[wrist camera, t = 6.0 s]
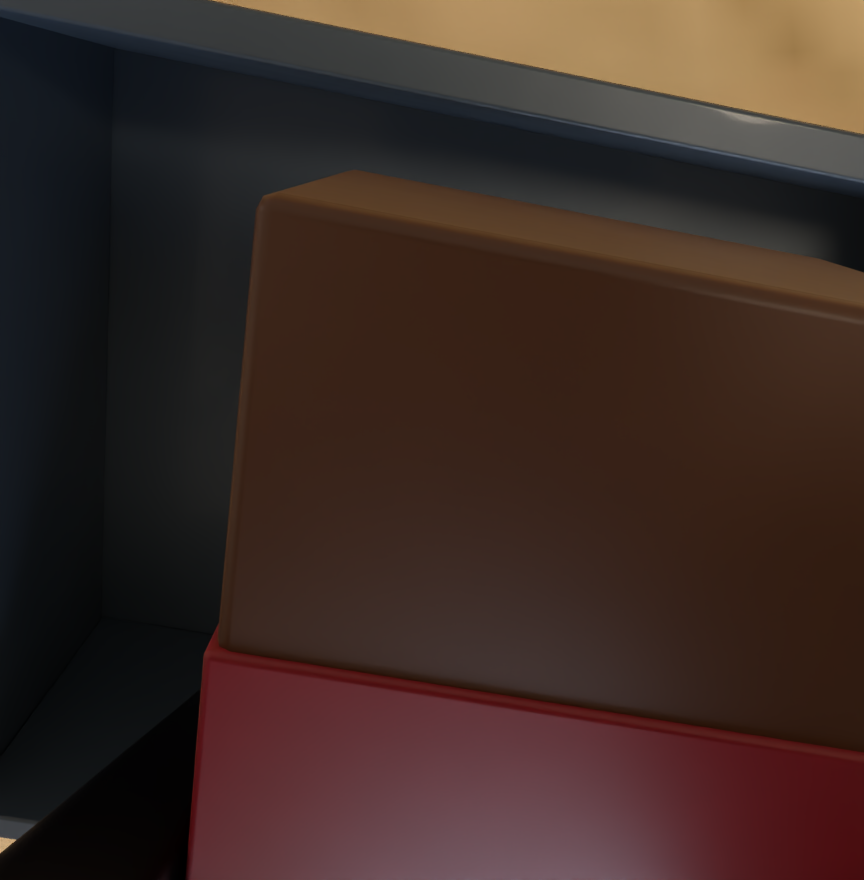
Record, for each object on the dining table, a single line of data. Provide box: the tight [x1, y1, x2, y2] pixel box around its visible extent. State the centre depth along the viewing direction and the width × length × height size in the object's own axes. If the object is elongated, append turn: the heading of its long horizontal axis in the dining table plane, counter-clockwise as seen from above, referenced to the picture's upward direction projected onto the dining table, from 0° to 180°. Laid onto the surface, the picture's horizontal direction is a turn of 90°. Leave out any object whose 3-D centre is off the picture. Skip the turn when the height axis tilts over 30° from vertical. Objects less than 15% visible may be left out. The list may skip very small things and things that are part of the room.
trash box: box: [0, 0, 864, 840], centre depth 13 cm, size 13×16×6 cm
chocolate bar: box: [185, 170, 864, 880], centre depth 7 cm, size 4×10×3 cm, turn 170°
